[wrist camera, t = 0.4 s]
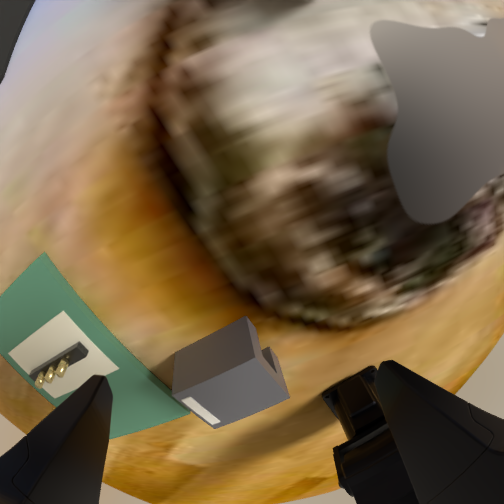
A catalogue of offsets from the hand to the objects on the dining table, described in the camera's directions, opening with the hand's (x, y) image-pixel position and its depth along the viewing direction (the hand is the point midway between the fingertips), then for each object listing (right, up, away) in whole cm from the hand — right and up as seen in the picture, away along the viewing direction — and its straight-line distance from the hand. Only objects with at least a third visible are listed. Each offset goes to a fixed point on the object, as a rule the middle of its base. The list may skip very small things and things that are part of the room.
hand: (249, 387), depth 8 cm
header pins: (-18, -6, +13) cm, 23 cm away
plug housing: (-2, -5, +16) cm, 17 cm away
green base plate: (-17, -7, +15) cm, 24 cm away
